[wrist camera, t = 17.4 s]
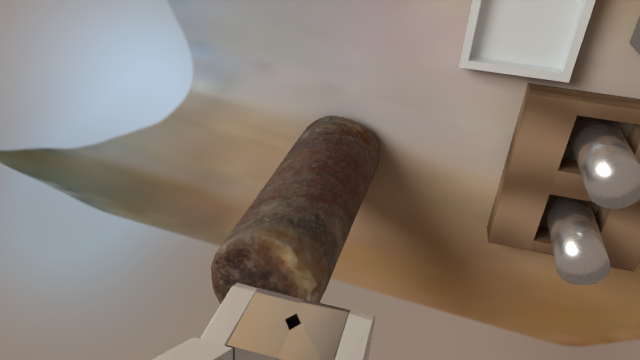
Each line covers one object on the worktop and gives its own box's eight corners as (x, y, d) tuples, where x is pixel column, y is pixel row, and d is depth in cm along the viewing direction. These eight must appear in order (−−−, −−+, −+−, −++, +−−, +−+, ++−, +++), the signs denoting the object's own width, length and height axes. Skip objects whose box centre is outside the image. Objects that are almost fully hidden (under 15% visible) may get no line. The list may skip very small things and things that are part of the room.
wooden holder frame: (528, 83, 40) (530, 94, 38) (697, 107, 38) (709, 119, 36) (487, 226, 48) (487, 242, 46) (626, 254, 45) (633, 271, 43)
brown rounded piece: (290, 161, 50) (195, 304, 33) (315, 96, 46) (221, 222, 29) (362, 194, 49) (303, 355, 33) (394, 132, 45) (344, 280, 29)
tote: (485, -64, 36) (485, -61, 35) (606, -52, 35) (611, -50, 33) (459, 61, 41) (458, 67, 40) (565, 75, 39) (568, 82, 38)
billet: (577, 111, 40) (597, 157, 34) (627, 118, 40) (656, 167, 33) (563, 151, 42) (579, 203, 36) (610, 159, 42) (635, 213, 35)
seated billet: (551, 186, 44) (564, 242, 37) (596, 194, 43) (617, 252, 37) (539, 220, 46) (550, 279, 39) (582, 229, 45) (600, 289, 39)
